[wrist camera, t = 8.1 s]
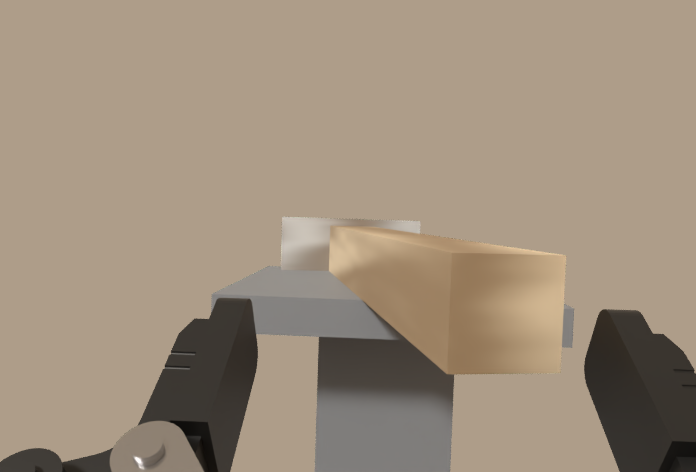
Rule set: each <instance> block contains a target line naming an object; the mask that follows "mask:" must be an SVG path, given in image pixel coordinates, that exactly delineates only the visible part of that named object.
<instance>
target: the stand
mask: <svg viewBox="0 0 696 472" xmlns="http://www.w3.org/2000/svg"><path fill="white" fill-rule="evenodd" d="M218 298H248V299H251V301H252V306H253V314H254V322H255V330H256V334H271V335H293V336H316V337H319V354H318V385H317V386H318V388H317V417H316V449H315V472H450V459H451V436H452V412H453V411H452V410H453V387H454V374H446V373H445V372H444V371H443V370H441V369H440V368H439V367H438V366H437V365H436V364H435V363H433V362H432V361H431V360H430V359H429V358H428V357H427V356H425V355H424V354H423V353H422V352H421V351H420V350H419V349H417V348H416V347H415V346H414V345H413V344H412V343H411V342H409V341H408V340H407V339H406V338H405V337H404V336H403V335H401V334H400V333H399V332H398V331H397V330H396V329H395V328H393V327H392V326H391V325H390V324H389V323H388V322H387V321H385V320H384V319H383V318H382V317H381V316H380V315H379V314H377V313H376V312H375V311H374V310H373V309H372V308H371V307H369V306H368V305H367V304H366V303H365V302H364V301H363V300H361V299H360V298H359V297H358V296H357V295H356V294H355V293H353V292H352V291H351V290H350V289H349V288H348V287H347V286H345V285H344V284H343V283H342V282H341V281H340V280H339V279H337V278H336V277H335V276H334V275H333V274H332V273H331V272H329V271H303V270H281V267H276V266H275V267H273V266H268V267H266V268H264V269H262V270H260V271H258V272H256V273H254V274H252V275H250V276H248V277H246V278H244V279H242V280H240V281H238V282H236V283H234V284H231V285H229V286H227V287H225V288H223V289H221V290H219V291H217V292H215V293H213V294H212V310H213V308H214V305H215V303H216V300H217V299H218ZM212 310H211V311H212ZM211 313H212V312H211ZM573 320H574V309H573V308H571V307H569V306H567V305H565V304H564V313H563V334H562V347H571V348H572V340H573Z"/></svg>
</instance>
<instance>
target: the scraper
mask: <svg viewBox="0 0 696 472" xmlns="http://www.w3.org/2000/svg"><path fill="white" fill-rule="evenodd" d="M281 270H303V271H329V272H331V273H332V274H333V275H334V276H335V277H336V278H337V279H339V280H340V281H341V282H342V283H343V284H344V285H345V286H347V287H348V288H349V289H350V290H351V291H352V292H353V293H355V294H356V295H357V296H358V297H359V298H360V299H361V300H363V301H364V302H365V303H366V304H367V305H368V306H369V307H371V308H372V309H373V310H374V311H375V312H376V313H377V314H379V315H380V316H381V317H382V318H383V319H384V320H385V321H387V322H388V323H389V324H390V325H391V326H392V327H393V328H395V329H396V330H397V331H398V332H399V333H400V334H401V335H403V336H404V337H405V338H406V339H407V340H408V341H409V342H411V343H412V344H413V345H414V346H415V347H416V348H417V349H419V350H420V351H421V352H422V353H423V354H424V355H425V356H427V357H428V358H429V359H430V360H431V361H432V362H433V363H435V364H436V365H437V366H438V367H439V368H440V369H441V370H443V371H444V372H445V373H446V374H529V373H530V374H531V373H532V374H533V373H561V354H562V334H563V313H564V292H565V272H566V255H560V254H553V253H547V252H539V251H533V250H526V249H520V248H513V247H506V246H499V245H493V244H486V243H479V242H472V241H465V240H459V239H453V238H446V237H439V236H432V235H425V234H420V221H397V220H364V219H332V218H302V217H282V247H281Z"/></svg>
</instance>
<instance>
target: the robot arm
mask: <svg viewBox="0 0 696 472" xmlns="http://www.w3.org/2000/svg"><path fill="white" fill-rule="evenodd" d="M257 348H258V347H257V339H256V330H255V322H254V314H253V306H252V301H251V299H248V298H218V299H217V300H216V303H215V305H214V308H213V310H212V313H211V316H210V318H209V319H194V320H193V321H192V322H191V323H190V324H188V325H187V326H186V327H185V328H184V329H183V330H182V331H181V332H180V333H179V335H178V337H177V339H176V342H175V344H174V346H173V348H172V350H171V355H169V357H168V360H167V362H166V364H165V369H163V371H162V373H161V375H160V377H159V380H158V382H157V384H156V387H155V389H154V391H153V394H152V395H151V398H150V400H149V402H148V404H147V407H146V409H145V411H144V413H143V416H142V418H141V420H140V422H139V424H138V426H136V427H134V428H132V429H131V430H129V431H128V432H126V433H125V434H124V435H123V436H122V437H121V438H120V439H119V440H118V441H117V442H116V444H115V446H114V447H113V448H112V449H110V450H107V451H105V452H103V453H99V454H96V455H92V456H88V457H83V458H79V459H75V460H71V461H67V462H61V459H60V458H59V456H58V455H57V454H56V453H54V452H52V451H50V450H47V449H41V448H36V449H28V450H24V451H21V452H18V453H15V454H13V455H11V456H9V457H7V458H6V459H4V460H2V461H1V462H0V472H230V470H231V466H232V462H233V458H234V454H235V451H236V447H237V443H238V439H239V435H240V431H241V427H242V423H243V420H244V416H245V412H246V408H247V404H248V400H249V396H250V392H251V389H252V385H253V381H254V377H255V373H256V368H257V358H258V349H257ZM584 371H585V380H586V384H587V387H588V389H589V392H590V395H591V397H592V400H593V403H594V405H595V408H596V411H597V413H598V416H599V419H600V421H601V424H602V426H603V429H604V432H605V434H606V437H607V439H608V442H609V445H610V447H611V450H612V452H613V455H614V458H615V460H616V463H617V466H618V468H619V471H620V472H696V374H695V373H694V368H693V367H692V365H691V364H690V362H689V360H688V359H687V357H686V355H685V354H684V352H683V351H682V350H681V349H680V348H679V347H678V346H676V345H675V344H674V343H673V342H672V341H671V340H670V339H668V338H667V337H666V336H665V335H664V334H653V333H652V331H651V330H650V328H649V326H648V324H647V322H646V321H645V319H644V317H643V315H642V314H641V313H640V312H639V311H636V310H606V309H605V310H602V311H601V312H600V313H599V315H598V318H597V321H596V325H595V328H594V331H593V335H592V338H591V341H590V344H589V348H588V351H587V355H586V358H585V365H584Z"/></svg>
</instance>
